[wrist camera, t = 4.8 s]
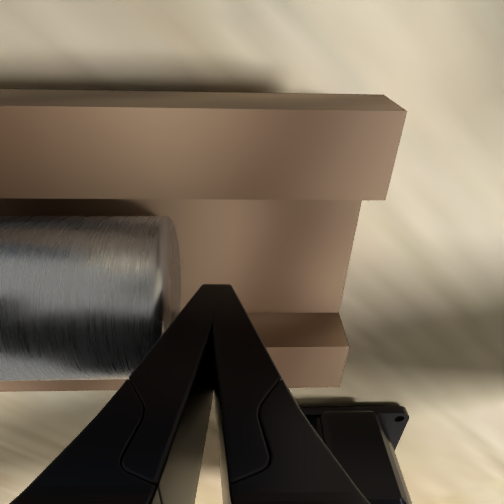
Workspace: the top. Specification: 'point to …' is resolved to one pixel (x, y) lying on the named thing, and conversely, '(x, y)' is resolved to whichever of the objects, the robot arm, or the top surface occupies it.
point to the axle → (84, 294)
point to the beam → (216, 195)
